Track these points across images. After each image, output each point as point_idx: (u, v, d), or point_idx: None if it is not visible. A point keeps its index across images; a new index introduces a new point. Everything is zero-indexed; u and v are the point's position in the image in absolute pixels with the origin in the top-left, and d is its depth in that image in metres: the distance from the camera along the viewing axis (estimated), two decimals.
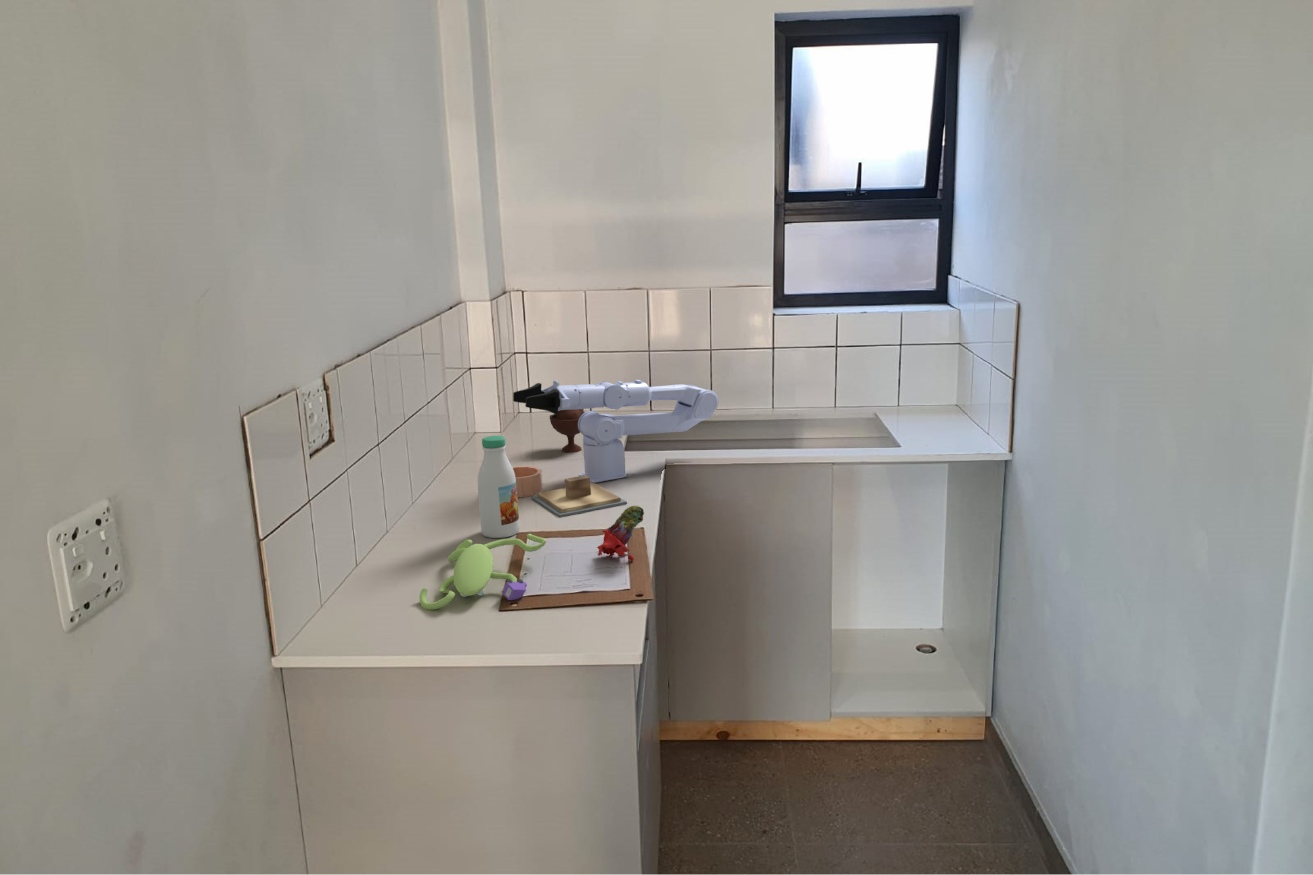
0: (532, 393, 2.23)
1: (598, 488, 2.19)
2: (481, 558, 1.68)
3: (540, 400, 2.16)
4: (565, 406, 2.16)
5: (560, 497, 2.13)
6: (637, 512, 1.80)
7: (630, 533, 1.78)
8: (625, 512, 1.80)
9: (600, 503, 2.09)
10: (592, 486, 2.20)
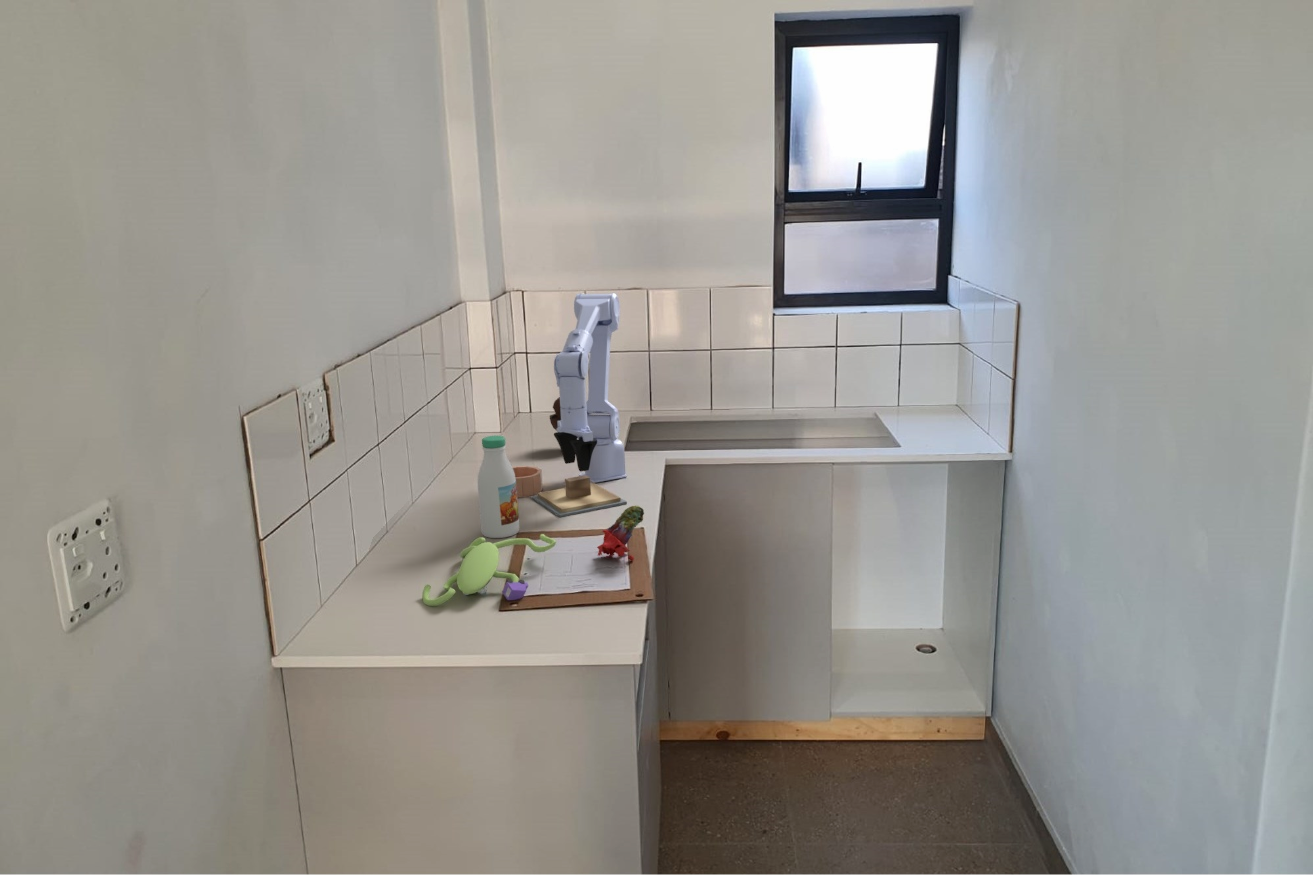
0: (566, 443, 2.14)
1: (598, 488, 2.19)
2: (486, 556, 1.69)
3: (582, 456, 2.08)
4: (591, 437, 2.05)
5: (560, 497, 2.13)
6: (637, 512, 1.80)
7: (630, 533, 1.78)
8: (625, 512, 1.80)
9: (600, 503, 2.09)
10: (592, 486, 2.20)
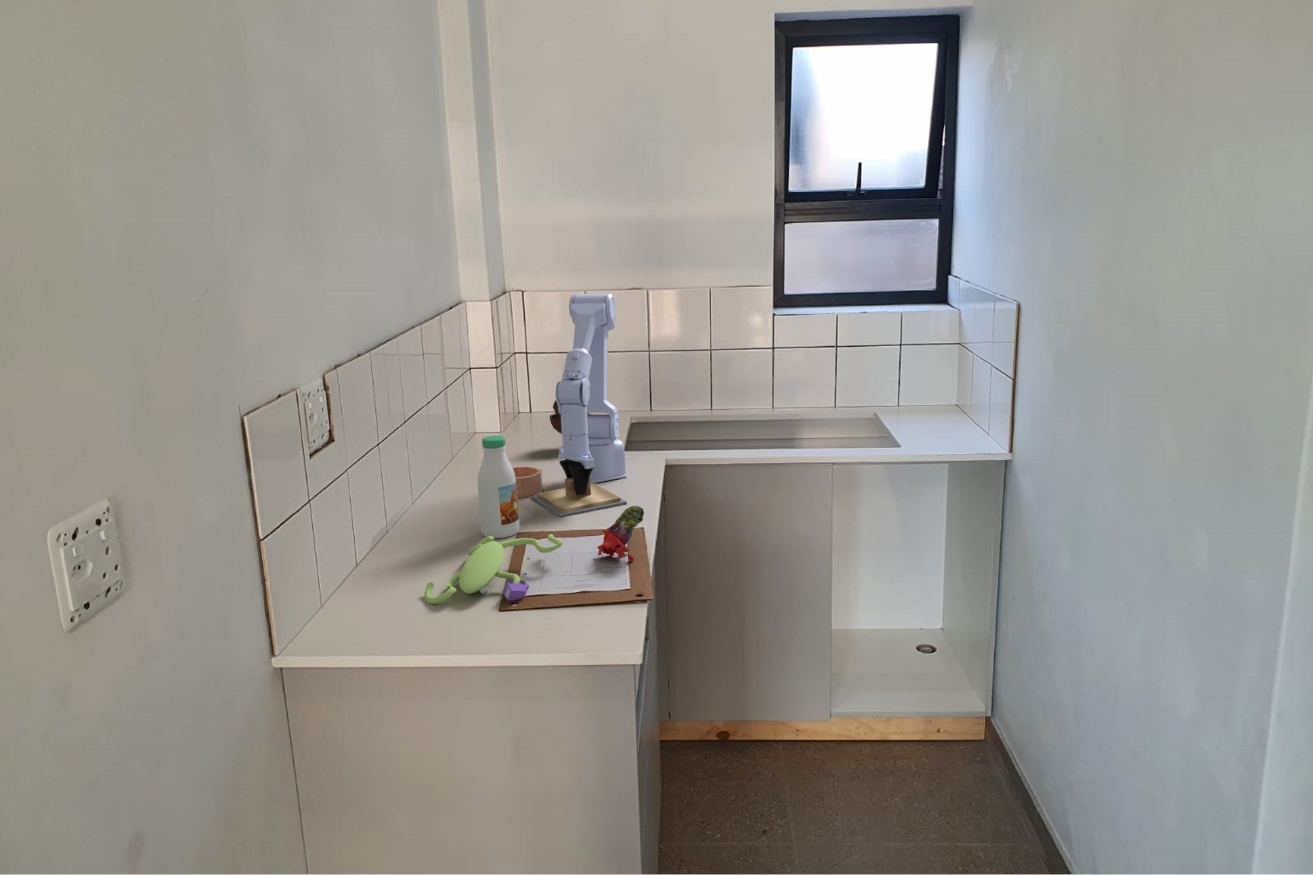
0: None
1: (598, 488, 2.19)
2: (490, 556, 1.69)
3: (579, 480, 2.11)
4: (593, 464, 2.06)
5: (560, 497, 2.13)
6: (637, 512, 1.80)
7: (630, 533, 1.78)
8: (625, 512, 1.80)
9: (600, 503, 2.09)
10: (592, 486, 2.20)
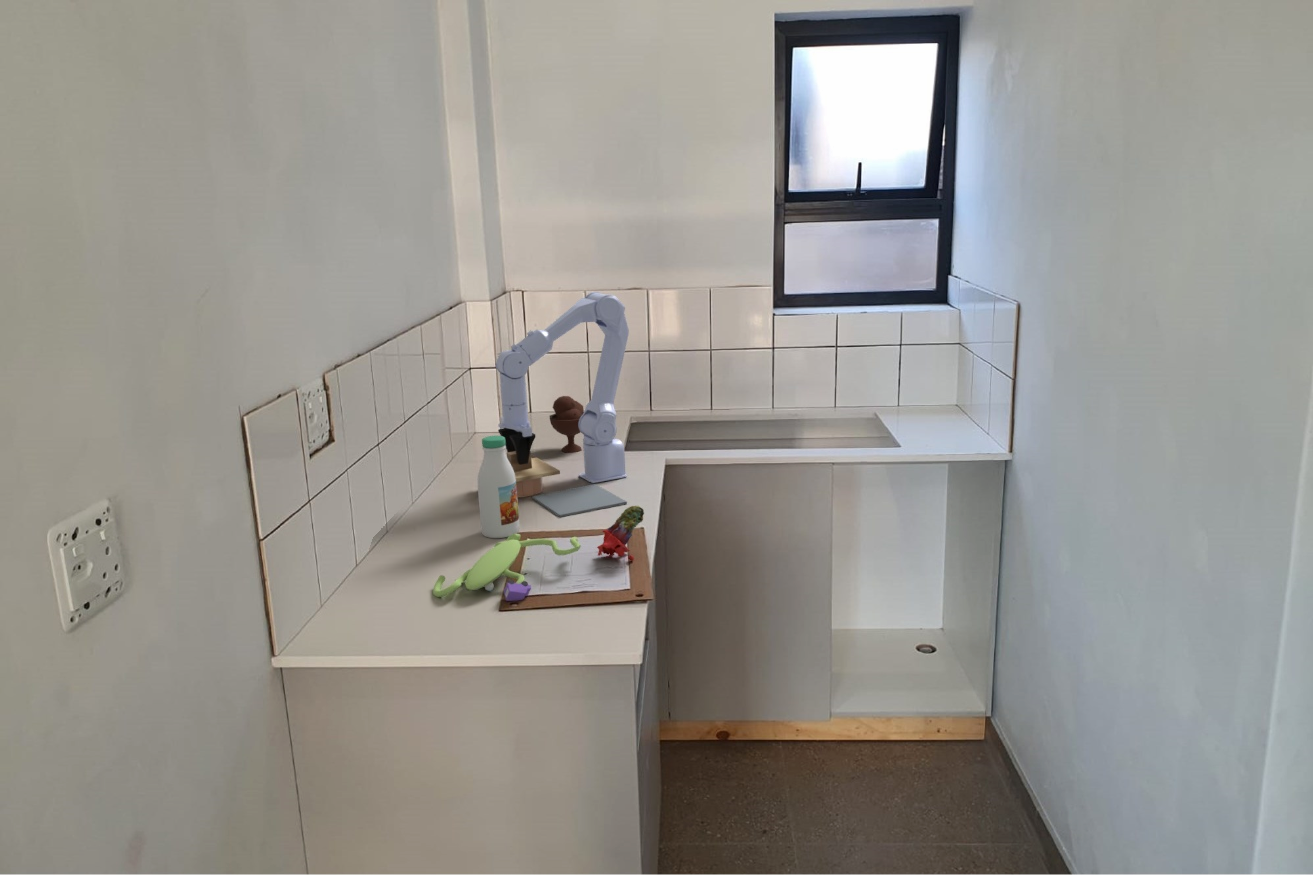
0: (510, 439, 2.23)
1: (540, 462, 2.27)
2: (502, 554, 1.70)
3: (521, 450, 2.18)
4: (530, 432, 2.14)
5: None
6: (637, 512, 1.80)
7: (630, 533, 1.78)
8: (625, 512, 1.80)
9: (539, 475, 2.17)
10: (535, 460, 2.29)
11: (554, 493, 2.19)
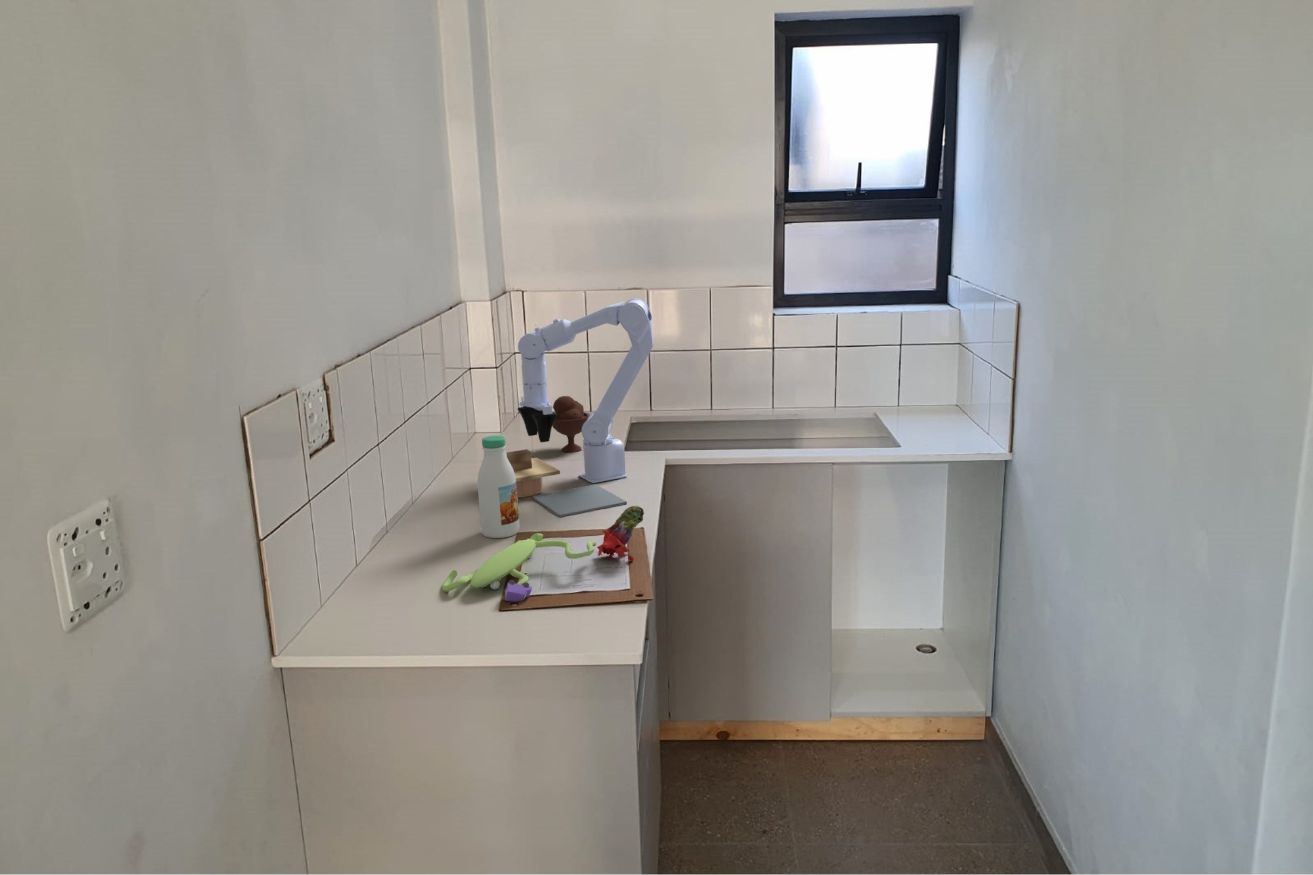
0: (529, 417, 2.33)
1: (540, 462, 2.27)
2: (512, 553, 1.70)
3: (543, 428, 2.26)
4: (551, 410, 2.23)
5: None
6: (637, 512, 1.80)
7: (630, 533, 1.78)
8: (625, 512, 1.80)
9: (539, 475, 2.17)
10: (535, 460, 2.29)
11: (554, 493, 2.19)
